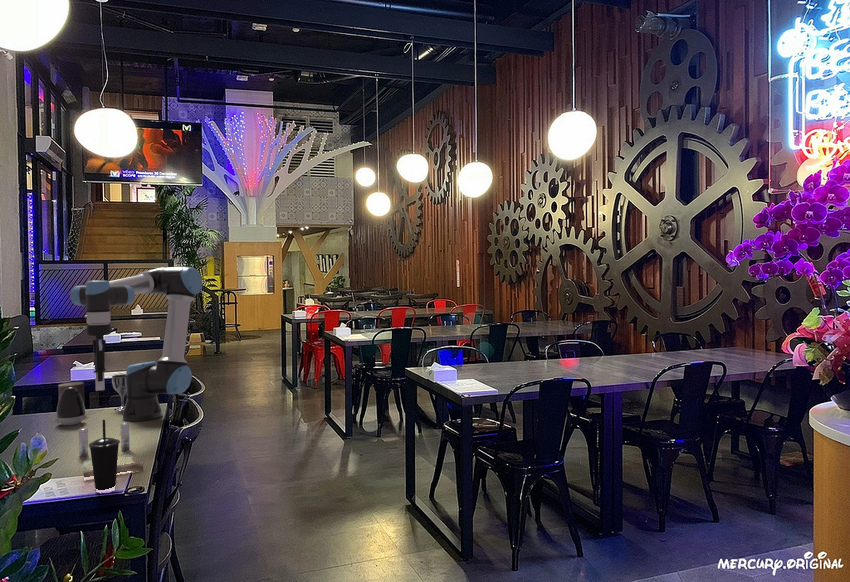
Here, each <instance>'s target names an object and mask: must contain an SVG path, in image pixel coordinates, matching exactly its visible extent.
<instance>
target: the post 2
mask: <svg viewBox="0 0 850 582" xmlns="http://www.w3.org/2000/svg"><path fill="white" fill-rule="evenodd" d="M130 439H131V438H130V423H129V422H128V423H127V422H123V423H121V424H120V445H121V449H120V451H121V450H122V452H126V451H125V450H128V451H130V450H131V444H130V442H131V441H130ZM129 449H130V450H129Z"/></svg>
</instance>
